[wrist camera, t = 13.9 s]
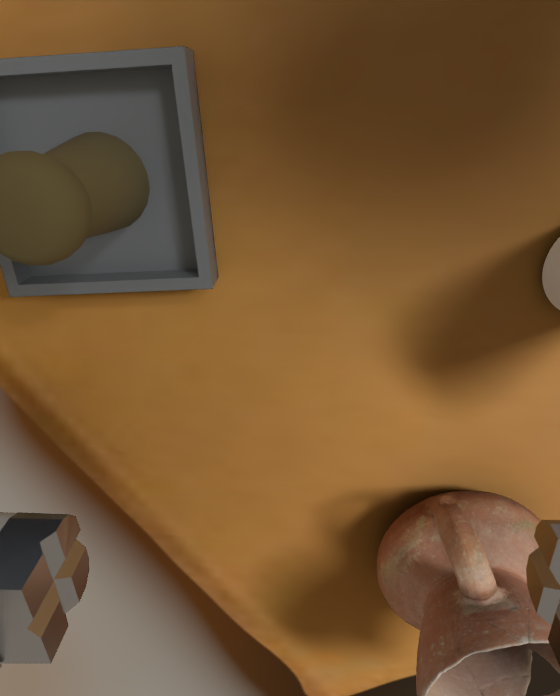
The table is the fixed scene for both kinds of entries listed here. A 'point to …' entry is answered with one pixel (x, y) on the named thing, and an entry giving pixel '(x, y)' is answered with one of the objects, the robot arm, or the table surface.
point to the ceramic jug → (466, 592)
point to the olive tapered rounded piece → (68, 196)
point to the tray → (150, 145)
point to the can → (552, 275)
